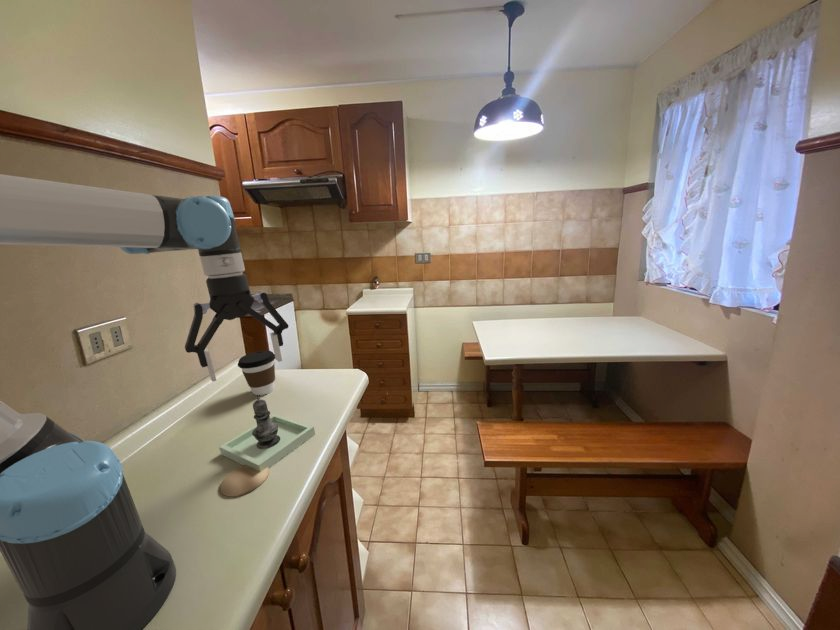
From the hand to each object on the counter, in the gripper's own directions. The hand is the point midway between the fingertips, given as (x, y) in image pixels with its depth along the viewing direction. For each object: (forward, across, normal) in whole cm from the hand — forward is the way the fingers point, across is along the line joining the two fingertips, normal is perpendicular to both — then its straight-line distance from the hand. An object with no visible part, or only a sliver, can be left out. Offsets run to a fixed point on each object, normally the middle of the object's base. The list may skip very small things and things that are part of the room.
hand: (247, 369), depth 76 cm
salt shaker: (+19, +1, 0) cm, 19 cm away
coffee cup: (+20, +8, +31) cm, 37 cm away
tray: (+20, +1, 0) cm, 20 cm away
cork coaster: (+20, -6, -10) cm, 23 cm away
